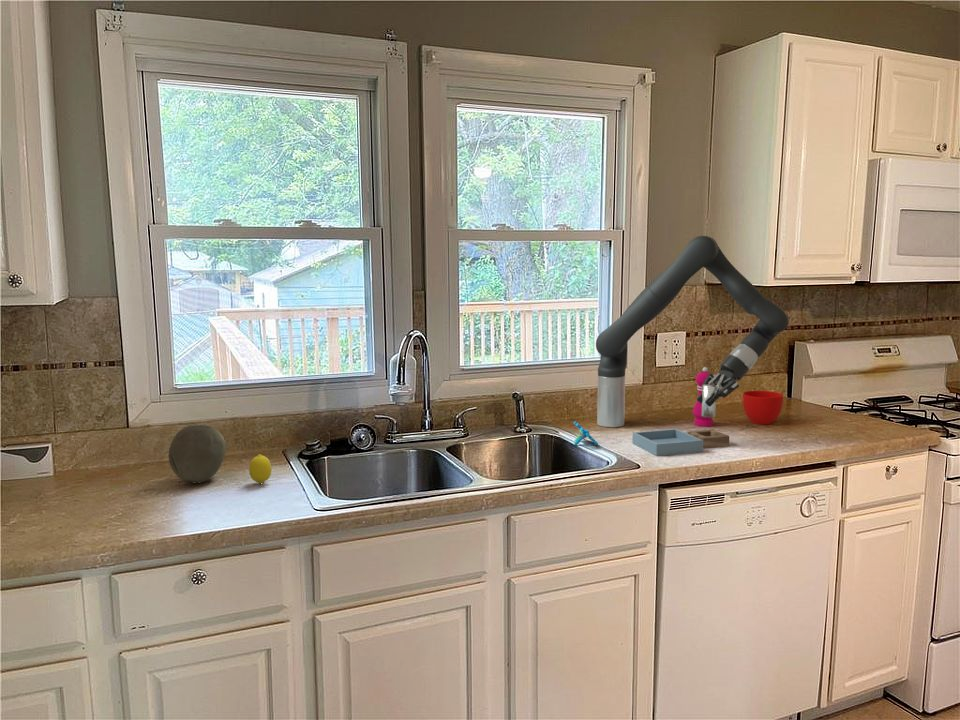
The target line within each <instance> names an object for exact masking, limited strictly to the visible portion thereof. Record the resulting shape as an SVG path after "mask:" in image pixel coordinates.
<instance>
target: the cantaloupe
mask: <svg viewBox="0 0 960 720" xmlns="http://www.w3.org/2000/svg"><path fill="white" fill-rule="evenodd" d="M226 444H227V443H226V440H225V438H224V436H223V435H222V434H221V433H220V431H218V429H216V428H215V427H214V426H210V425H205V424H195V425H187V426H185V427H184V428H182V429H180V430H179V431H178V432H177V433H175V435H174V437H173V439H172V440H171V443H170V445H169V449H168V464H169V465H170V468H171V470H172V472H173V473H174V475H176V477H178V478H179V480H182V481H183V482H189V483H192V482H195V483H194V484H200V483H199V482H202V483H204V482H206V481H208V480H209V479H211V478H213V476H215V475H216V474H217V473H218V471H219V470H220V468H221V466H222V464H223V462H224V458H225V455H226V450H227V449H226V448H227V447H226V446H227V445H226Z"/></svg>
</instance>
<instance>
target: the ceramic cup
mask: <svg viewBox="0 0 960 720" xmlns="http://www.w3.org/2000/svg"><path fill="white" fill-rule="evenodd" d="M783 403H784V395H783V394H782V393H781V392H776V391H769V390H748V391H743V393H742V405H743V409H744V411H743V412H744V413H745V415H746V417H747V418H748V419H749V421H751V423H753V424H756V425H763V426H764V425H771V424H772V423H774V421H775V420H776V419H777V418H778V417H779V415H780V413H781V411H782V409H783V408H782V407H783Z"/></svg>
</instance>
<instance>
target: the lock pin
mask: <svg viewBox="0 0 960 720" xmlns="http://www.w3.org/2000/svg"><path fill="white" fill-rule="evenodd" d="M715 389H716V385H714V384H713V385H703V393H702V416H703V417H712V418H715V417H716V409H717V408H716V406H717V404H716V403H717V400H716V401H715V402H714V403H713V404H712V405H711V406H708V405H707V404H706V403H705V401H706V400H707V399H708V397H709V396H710V395H711V394H712V393H714V391H715Z"/></svg>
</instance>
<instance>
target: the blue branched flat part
mask: <svg viewBox="0 0 960 720" xmlns="http://www.w3.org/2000/svg"><path fill="white" fill-rule="evenodd" d="M573 424H574V426H576V427H577V428H578V429H579V433H578V436H577V437H576V438H575V439H574V443H573V444H574V445H575V446H577V445H578V444H580V442H581V441H582V440H585V439H586V438H588V439H589V440H590V441H591V442H592V443H594V444H595V445H596V446H598V444H599V442H597V440H596V439H595V438H594V437H592V436H591V435H590V431H589V430H588V429H587V430H586V429H584V428H583V427H582V426H581V425H580V424H579V423H578V422H577V421H576V420H575V421H574V422H573Z"/></svg>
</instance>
